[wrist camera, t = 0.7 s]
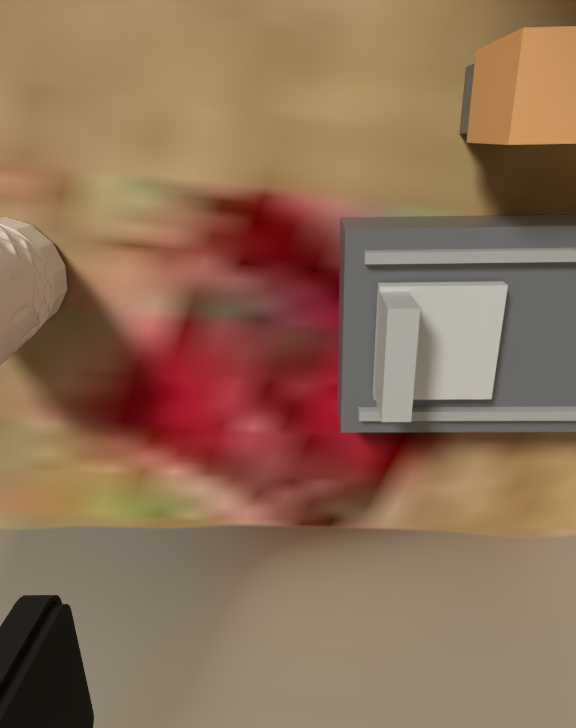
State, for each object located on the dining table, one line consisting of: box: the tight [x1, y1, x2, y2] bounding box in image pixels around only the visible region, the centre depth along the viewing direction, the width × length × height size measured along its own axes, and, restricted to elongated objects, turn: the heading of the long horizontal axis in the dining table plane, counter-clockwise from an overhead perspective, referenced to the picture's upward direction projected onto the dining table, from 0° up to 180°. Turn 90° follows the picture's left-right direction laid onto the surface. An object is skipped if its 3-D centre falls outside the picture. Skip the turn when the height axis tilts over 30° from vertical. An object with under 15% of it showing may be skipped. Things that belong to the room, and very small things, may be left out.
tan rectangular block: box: [460, 26, 576, 145], centre depth 25 cm, size 4×4×9 cm
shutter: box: [373, 281, 508, 422], centre depth 28 cm, size 6×6×4 cm
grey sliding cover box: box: [337, 215, 576, 432], centre depth 31 cm, size 12×16×5 cm
